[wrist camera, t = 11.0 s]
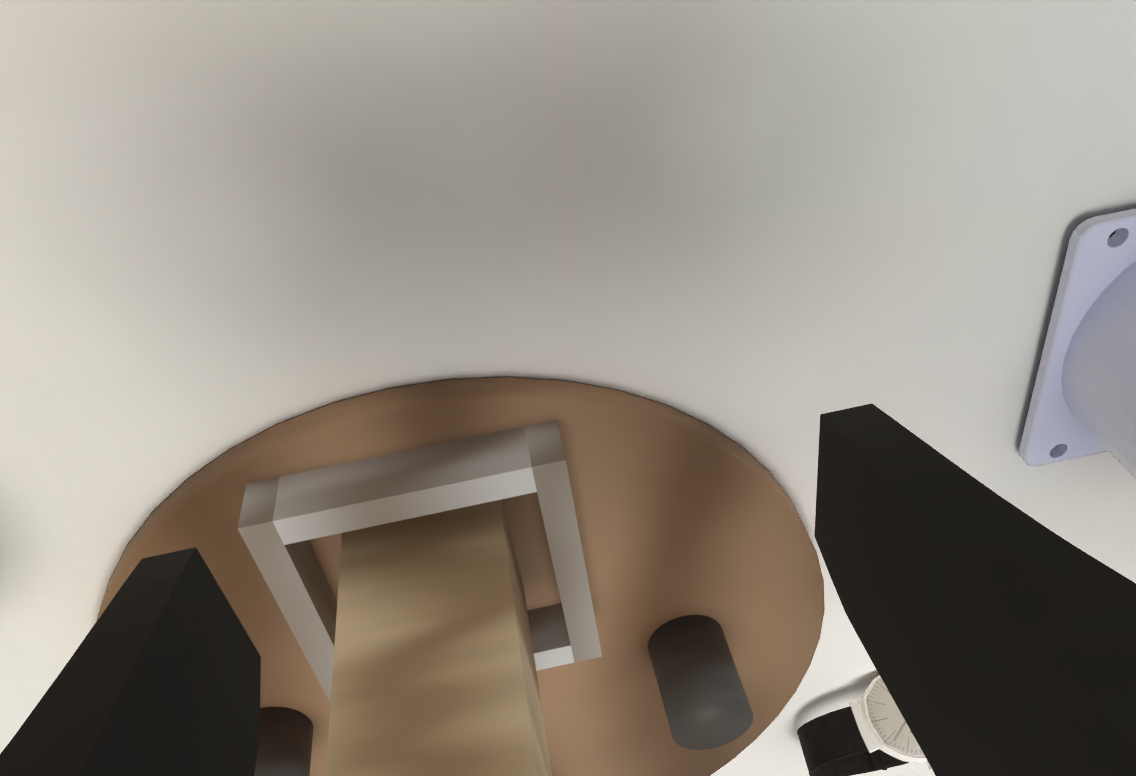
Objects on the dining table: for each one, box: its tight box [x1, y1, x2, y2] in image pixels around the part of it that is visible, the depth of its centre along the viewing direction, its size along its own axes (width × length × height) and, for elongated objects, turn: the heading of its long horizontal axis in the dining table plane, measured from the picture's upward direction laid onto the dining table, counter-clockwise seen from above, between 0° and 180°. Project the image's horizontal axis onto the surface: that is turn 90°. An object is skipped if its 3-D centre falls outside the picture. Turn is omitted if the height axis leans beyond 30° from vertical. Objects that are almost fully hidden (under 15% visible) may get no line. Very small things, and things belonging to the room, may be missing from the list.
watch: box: [797, 675, 932, 776], centre depth 32 cm, size 8×5×4 cm, turn 102°
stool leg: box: [326, 500, 552, 776], centre depth 20 cm, size 4×4×8 cm
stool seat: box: [97, 377, 824, 776], centre depth 27 cm, size 22×22×4 cm
